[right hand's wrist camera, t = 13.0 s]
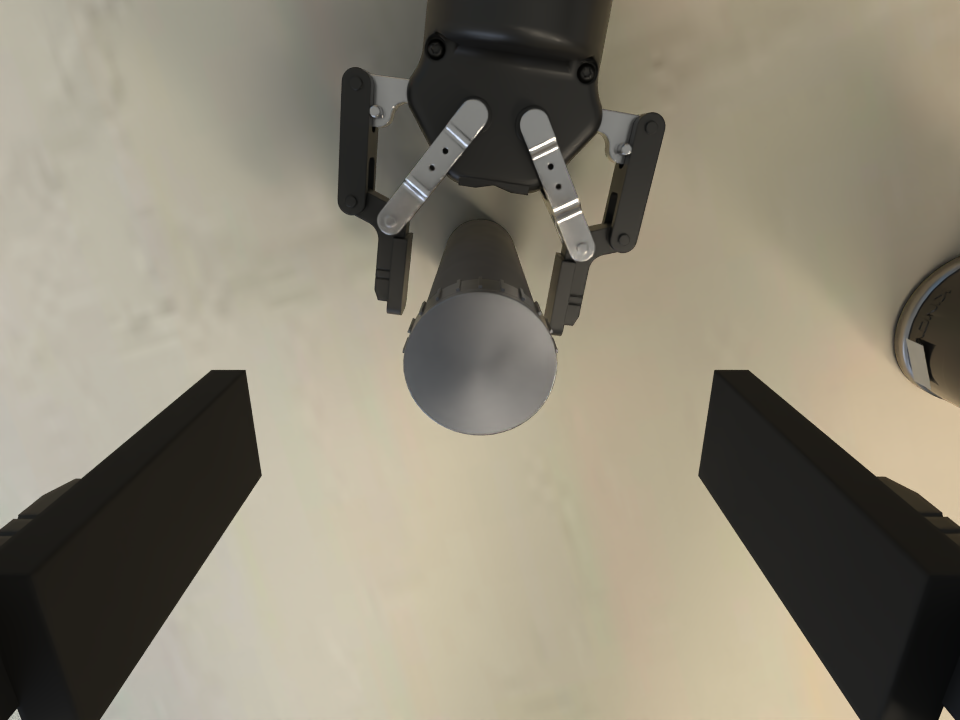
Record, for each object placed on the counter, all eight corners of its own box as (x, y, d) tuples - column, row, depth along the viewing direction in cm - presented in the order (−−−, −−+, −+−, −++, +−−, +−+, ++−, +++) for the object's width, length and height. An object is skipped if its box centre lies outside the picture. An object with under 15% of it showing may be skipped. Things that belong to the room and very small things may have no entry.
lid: (503, 247, 17) (505, 257, 16) (578, 368, 18) (588, 389, 17) (378, 326, 18) (368, 344, 16) (460, 436, 19) (457, 463, 18)
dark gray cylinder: (491, 205, 33) (502, 266, 16) (528, 265, 34) (574, 381, 17) (431, 244, 34) (383, 341, 17) (469, 302, 35) (460, 446, 18)
